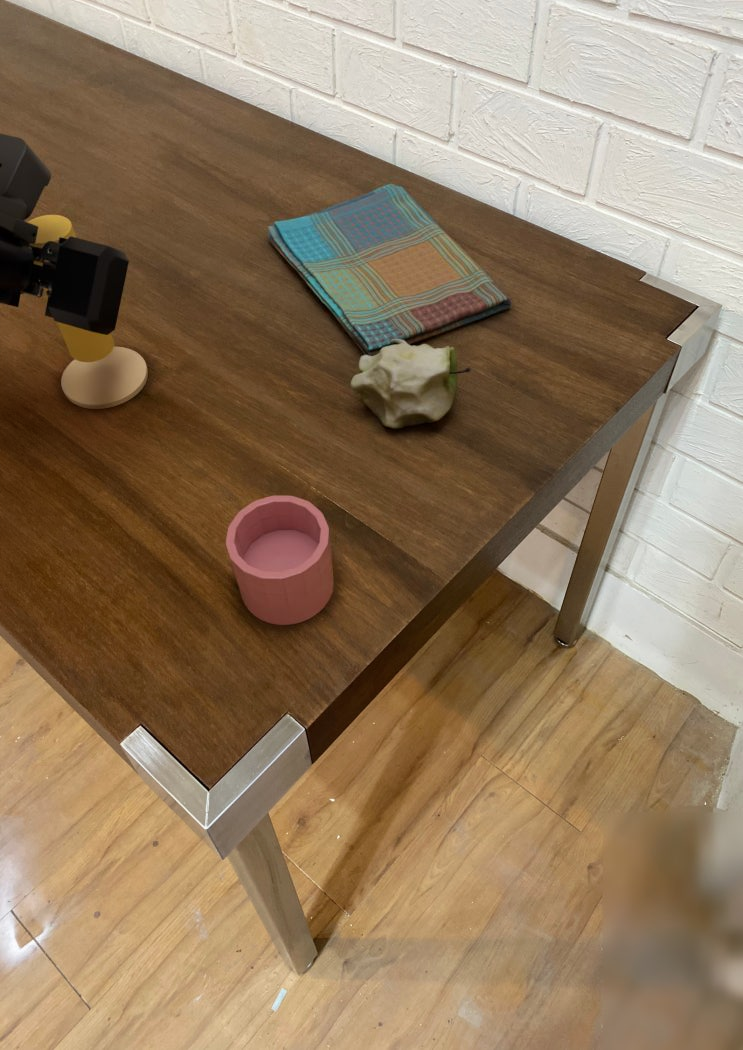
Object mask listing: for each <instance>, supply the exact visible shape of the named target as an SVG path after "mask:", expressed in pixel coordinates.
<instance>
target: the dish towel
mask: <svg viewBox="0 0 743 1050" xmlns="http://www.w3.org/2000/svg"><path fill="white" fill-rule="evenodd" d="M267 230H268V232H267V233H266V236H267V239H268V242H270V243H271V245H272V246H273V247H274V248H275V249H276V251H277V252H278V253H279V254H280V255H281V256H282V257H283V258H284V259H285V261H287V263H288V264H289V265H290V266H291V268H293V269H294V270H295V271H296V272H297V273H298V275H299V276H300V277H301V278H302V279H303V280H304V282H305V283H306V285H307V286H308V287H309V288H310V289H311V290H312V292H313V293H314V294H315V295H316V296H317V298H318V299H319V300H320V301H321V303H322V304H324V305H325V306H326V308H327V309H328V311H330V312H331V313H332V315H333V317H335V319H336V320H337V321H338V323H339V324H340V326H341V327H342V328H343V329H344V330H345V332H346V333H347V334H348V336H349V337H350V338H351V339H352V341H353V342H354V343H355V345H356V346H357V347H358V348H359V350H361V352H362V353H363V355H369V356H375V355H377V354H378V353H379V352H380V350H381V349H382V348H383V347H386V346H390V345H397V344H398V343H396V342H392V341H391V340H393V339H401V340H404V341H405V342H406V343H407V344H409V345H410V346H411V345H412V344H415V343H417V342H421V341H422V340H426V339H429V338H431V337H434V336H436V335H439V334H442V333H444V332H448V331H450V330H453V329H456V328H459V327H461V326H464V325H467V324H470V323H473V322H475V321H478V320H479V321H480V320H482V319H483V318H487V317H489V316H491V315H495V314H497V313H500V312H503V311H505V310H507V309H509V308H511V307H512V301H511V298H510V297H509V296H508V295H507V294H506V293H505V292H504V291H503V290H502V289H501V288H500V287H499V286H498V285H497V284H496V283H495V282H494V280H493V279H492V278H491V277H490V276H489V275H488V274H487V273H486V271H485V270H484V269H483V268H481V266H479V264H478V263H477V262H475V261H474V260H473V258H472V257H471V256H470V255H469V254H468V253H467V252H466V251H465V250H464V249H463V248H462V247H461V246H460V245H459V244H458V242H456V241H455V240H454V239H453V238H452V237H451V236H450V234H448V233H447V232H446V231H445V230H444V229H442V227H441V226H440V225H439V224H438V223H437V222H435V220H434V219H433V217H431V216H430V215H429V214H428V213H427V212H426V211H425V210H424V209H423V208H422V207H421V205H420V204H419V203H417V201H416V199H414V198H413V197H412V196H411V194H409V193H408V192H407V190H406V189H404V188H403V186H397V185H396V184H393V183H388V184H386V185H382V186H381V187H378V188H376V189H374V190H372V191H369V192H367V193H364V194H362V195H359V196H357V197H354V198H352V199H351V198H350V199H348V200H345V201H342V202H340V203H337V204H334V205H332V206H329V207H326V208H325V209H321V210H320V211H317V212H313V213H311V214H310V213H309V214H306V215H303V216H300V217H296V218H291V219H285V220H280V221H279V220H277V221H274V223H273V225H269V226H267Z"/></svg>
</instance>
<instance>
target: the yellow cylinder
mask: <svg viewBox="0 0 743 1050" xmlns="http://www.w3.org/2000/svg"><path fill="white" fill-rule="evenodd" d="M27 222H28V223H31V224H33V225H36V226H38V232H37V237H36V242H35V244H32V243H30V245H31V246H35V247H39V248H41V247H43V245H44V244H45V243H46V242H48V241H53V242H57V243H58V242H59V237H62V238H65V239H68V238H69V237H70V236H72V237H76V238H77V235H76V233H75V230H74V226H73V224H72V221H71V220H69V218H67V217H65V216H63V215H61V214H60V215H59V214H45V215H41V216H37V217H34V218H32V219H30V220H28V221H27ZM45 261H47V260H45ZM47 262H50V261H47ZM34 264H36V265H40V266H43V263H41V262H37V261H34ZM39 282H40V280H39ZM47 290H49V289H45V288H44V289H43V294H44V296H45V299H46V301H47V300H48V296H47V295H46V292H47ZM56 324H57V326H58V329H59V331H60V334H61V336H62V338H63V340H64V344H65V345H66V348H67V351H68V352H69V354H70V357H71V358H72V359H73V360H74V359H75V360H77V361H80V362H94V361H98V360H101V359H103V358H105V357H106V356H108V355H109V354H110V353H111V352H112V350H113V348H114V346H115V341H114V337H113V335H112V332H111V333H110V334H108V335H104V334H100V333H95V332H91V331H87V330H84V329H80V328H77V327H74V326H70V325H67V324H63V323H60V322H56Z"/></svg>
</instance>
